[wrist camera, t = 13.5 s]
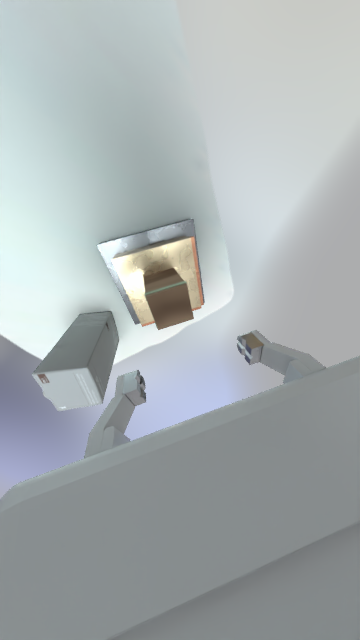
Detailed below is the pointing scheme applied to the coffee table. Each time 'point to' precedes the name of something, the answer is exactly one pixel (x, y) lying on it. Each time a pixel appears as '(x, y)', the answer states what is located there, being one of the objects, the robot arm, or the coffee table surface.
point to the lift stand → (153, 264)
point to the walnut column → (168, 298)
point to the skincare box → (80, 363)
